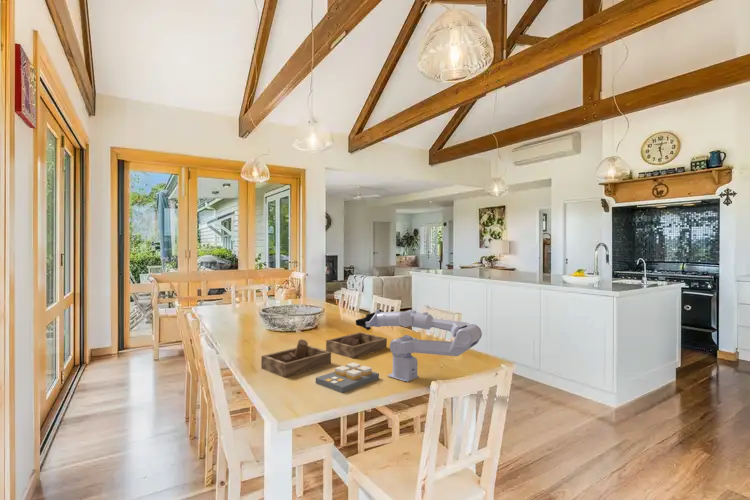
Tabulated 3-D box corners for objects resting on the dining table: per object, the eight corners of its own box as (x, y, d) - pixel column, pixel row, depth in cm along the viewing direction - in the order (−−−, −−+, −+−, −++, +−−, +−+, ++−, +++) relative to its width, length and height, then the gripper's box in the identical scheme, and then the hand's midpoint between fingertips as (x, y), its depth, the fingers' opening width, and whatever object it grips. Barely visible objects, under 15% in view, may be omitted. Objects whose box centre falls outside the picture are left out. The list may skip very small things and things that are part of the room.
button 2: (361, 378, 150) (361, 371, 150) (353, 380, 147) (353, 374, 147) (353, 375, 152) (353, 369, 152) (346, 378, 149) (346, 371, 149)
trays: (386, 348, 198) (386, 338, 198) (288, 378, 152) (288, 365, 152) (359, 341, 210) (360, 332, 210) (261, 368, 164) (261, 356, 164)
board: (378, 378, 154) (378, 372, 154) (342, 393, 139) (342, 386, 139) (352, 370, 164) (352, 365, 163) (315, 383, 148) (315, 377, 148)
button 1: (371, 374, 154) (371, 367, 154) (364, 376, 151) (364, 370, 151) (363, 371, 157) (364, 365, 157) (357, 374, 154) (357, 367, 154)
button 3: (360, 370, 158) (360, 364, 158) (353, 373, 155) (353, 366, 155) (352, 368, 161) (353, 362, 161) (345, 370, 158) (346, 364, 158)
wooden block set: (284, 378, 159) (290, 357, 156) (272, 365, 164) (278, 345, 161) (319, 366, 173) (325, 347, 170) (307, 355, 178) (312, 335, 175)
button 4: (349, 374, 154) (349, 368, 153) (342, 377, 150) (342, 370, 150) (342, 372, 156) (342, 365, 156) (334, 374, 153) (335, 368, 153)
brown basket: (354, 356, 184) (355, 341, 184) (337, 350, 192) (337, 336, 192) (379, 349, 198) (380, 336, 198) (361, 345, 206) (362, 331, 205)
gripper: (395, 304, 166) (369, 306, 174) (376, 314, 154) (349, 315, 162) (398, 321, 167) (372, 321, 174) (380, 332, 155) (352, 332, 162)
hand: (361, 319), depth 168 cm, fingers open, 7 cm apart
